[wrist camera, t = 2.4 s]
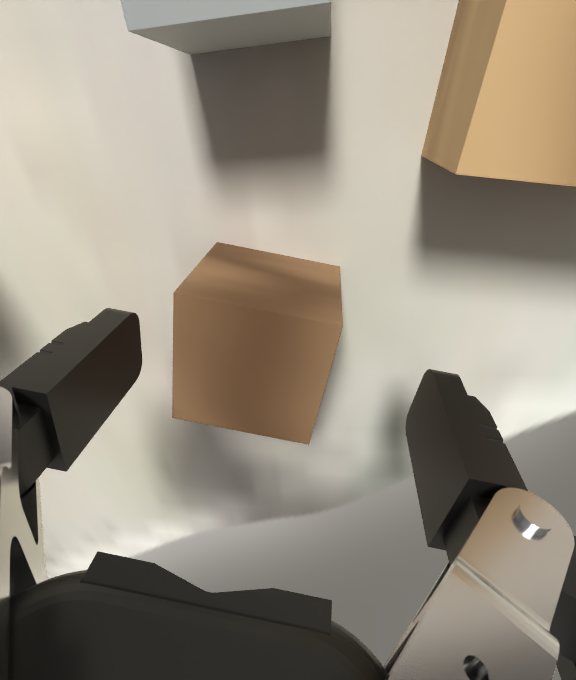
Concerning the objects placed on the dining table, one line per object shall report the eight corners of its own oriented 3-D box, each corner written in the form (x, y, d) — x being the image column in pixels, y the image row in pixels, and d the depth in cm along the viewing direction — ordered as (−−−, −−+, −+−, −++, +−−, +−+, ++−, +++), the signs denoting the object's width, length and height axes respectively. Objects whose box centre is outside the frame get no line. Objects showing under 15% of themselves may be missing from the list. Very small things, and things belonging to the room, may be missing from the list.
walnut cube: (210, 344, 16) (172, 417, 12) (217, 241, 14) (173, 292, 10) (314, 364, 16) (308, 444, 12) (339, 266, 14) (342, 326, 10)
